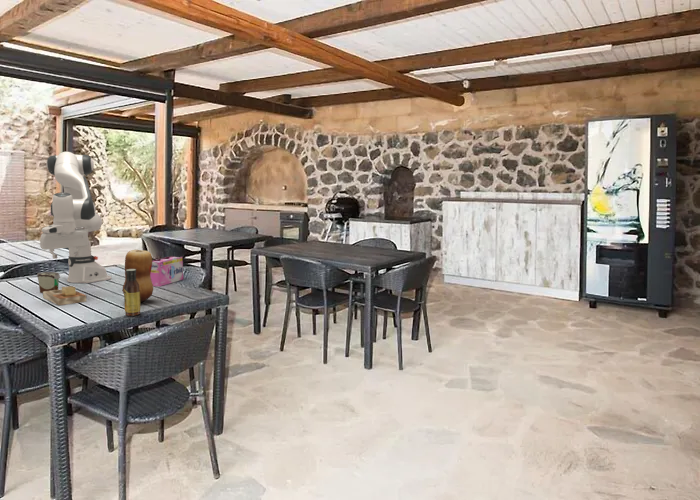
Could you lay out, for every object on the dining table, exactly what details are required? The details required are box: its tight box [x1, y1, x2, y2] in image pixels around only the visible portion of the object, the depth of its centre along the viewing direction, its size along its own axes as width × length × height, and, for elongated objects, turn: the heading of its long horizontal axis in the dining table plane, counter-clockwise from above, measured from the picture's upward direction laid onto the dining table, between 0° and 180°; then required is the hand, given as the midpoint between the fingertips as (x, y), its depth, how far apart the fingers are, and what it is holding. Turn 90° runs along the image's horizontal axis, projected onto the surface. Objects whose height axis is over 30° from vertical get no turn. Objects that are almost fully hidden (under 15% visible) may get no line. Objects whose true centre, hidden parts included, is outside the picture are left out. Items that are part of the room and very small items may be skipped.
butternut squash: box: [122, 249, 154, 303], centre depth 243 cm, size 14×13×25 cm
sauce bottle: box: [123, 269, 141, 317], centre depth 221 cm, size 7×6×20 cm
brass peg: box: [61, 285, 77, 297], centre depth 242 cm, size 4×4×7 cm
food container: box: [36, 271, 61, 294], centre depth 260 cm, size 12×6×10 cm, turn 71°
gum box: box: [150, 255, 184, 287], centre depth 292 cm, size 24×8×14 cm, turn 164°
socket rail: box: [42, 288, 87, 306], centre depth 246 cm, size 12×21×3 cm, turn 47°
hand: (66, 257), depth 240 cm, fingers open, 8 cm apart
